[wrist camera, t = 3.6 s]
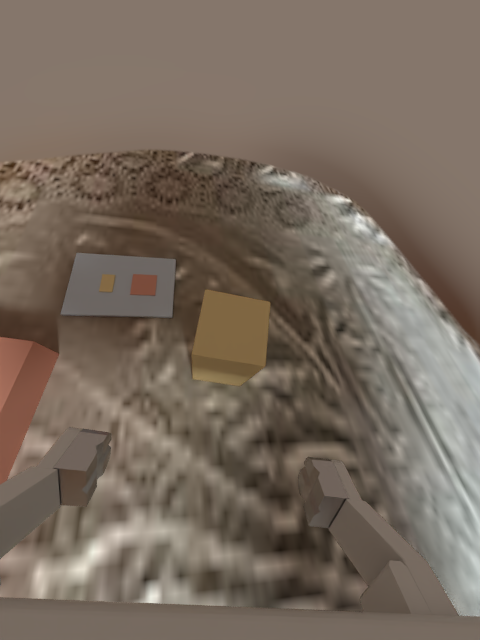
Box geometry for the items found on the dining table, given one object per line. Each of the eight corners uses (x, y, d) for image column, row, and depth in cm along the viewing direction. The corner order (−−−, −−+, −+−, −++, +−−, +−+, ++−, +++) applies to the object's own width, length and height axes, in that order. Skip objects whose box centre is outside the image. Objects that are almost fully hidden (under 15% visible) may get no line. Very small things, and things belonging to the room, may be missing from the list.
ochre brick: (245, 341, 24) (270, 301, 16) (239, 386, 23) (265, 366, 14) (201, 334, 24) (205, 289, 16) (192, 379, 22) (191, 354, 14)
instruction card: (176, 260, 27) (175, 258, 26) (172, 317, 24) (171, 316, 24) (78, 254, 25) (76, 252, 25) (62, 315, 22) (59, 313, 22)
